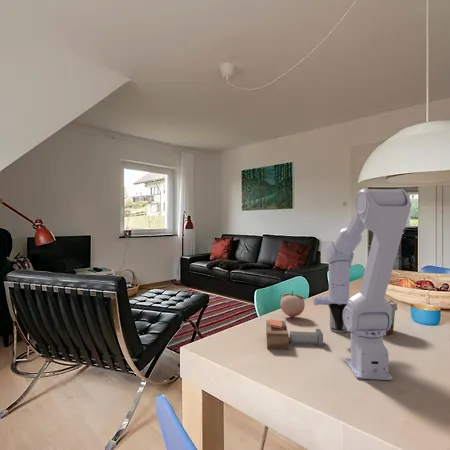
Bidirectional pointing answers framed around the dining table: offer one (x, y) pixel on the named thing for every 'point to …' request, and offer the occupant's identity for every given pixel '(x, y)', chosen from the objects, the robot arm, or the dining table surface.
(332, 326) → the energy drink
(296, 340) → the pin
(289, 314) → the decorative fruit
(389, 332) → the food container
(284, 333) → the block
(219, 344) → the dining table surface
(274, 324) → the flap
